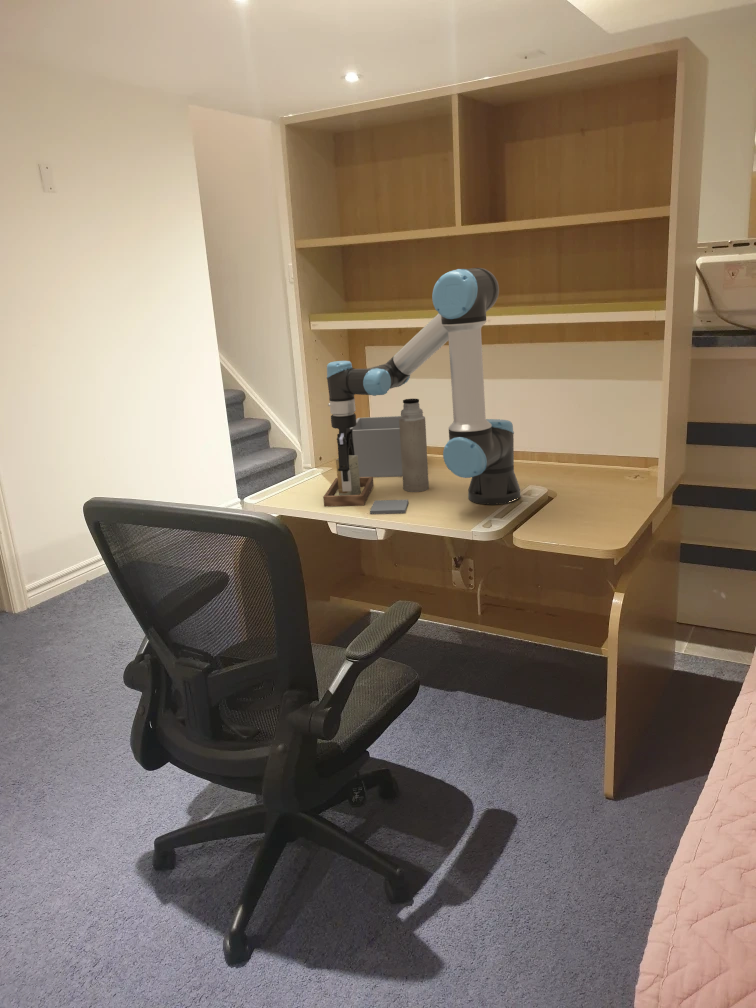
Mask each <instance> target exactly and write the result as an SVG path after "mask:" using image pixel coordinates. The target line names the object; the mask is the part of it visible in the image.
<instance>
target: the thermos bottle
mask: <svg viewBox="0 0 756 1008" xmlns="http://www.w3.org/2000/svg"><path fill="white" fill-rule="evenodd" d="M402 403H403V405H402V407H403V409H401V411H400V416H401V418H399V428H400V444H401V460H402V476H401V477H402V489H403V491H404V492H410V493H417V492H418V493H419V492H423V491H427V490H429V486H430V483H429V482H430V481H429V467H428V464H429V463H428V450H427V449H428V446H427V428H426V424H427V423H426V416H424V412H423V408H420V399H419V398H405V399H403V400H402Z"/></svg>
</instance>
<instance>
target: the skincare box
mask: <svg viewBox="0 0 756 1008" xmlns="http://www.w3.org/2000/svg"><path fill="white" fill-rule="evenodd" d="M335 467H336V475H337V477H336V478H338V488H339V489H338V496H340V495H361V493H362V491H361V490H362V489H361V487H360V478H359V467H358V456H356V455H349V470H350V475H351V487H352V491H343V490H342V479H341V471H338V469H339V457H338V458H336V459H335Z"/></svg>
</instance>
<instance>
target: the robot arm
mask: <svg viewBox="0 0 756 1008" xmlns="http://www.w3.org/2000/svg"><path fill="white" fill-rule="evenodd" d="M431 294H432V297H431V298H432V299H431V300H432V304H433V307H434V309H435V311H437V315H435V316H434V317H433V318H431V320H430V321H429V322H428V323H427V324H426V325H424V326H423V327H422V328H421V329H420V331H418V332H417V333H416V334H415V335H414V336H413V337H412V338H411V339H410V340H409V341H407V342H406V343H405V344H404V345H403V347H402V348H400V349H399V350H398V351H397V352H396V353H395V354H394V355H393V356H392V357H391V358H390V359H389V360H388V361H387V362H385V363H383V364H379V365H375V366H372V367H367V368H354V367H353V364H352V362H351V361H350V360H337V361H331V362H329V363H327V365H326V380H327V381H326V382H327V386H328V387H327V388H328V399H329V403H327V407H329V411H330V414H331V415H330V422H331V424H330V425H331V427H332V428H333V429H338V433H337V437H336V443H337V454H338V456H337V457H338V458H339V469H338V471H341V479H342V490H343V491H352V487H351V475H350V470H349V455H355V454H354V444H353V434H352V431H353V430H352V429H350V428H352V427H354V426H356V419H357V415H356V399H355V395H360V396H361V395H362V396H363V395H364V396H374V397H376V396H383V395H384V396H385V395H386V394H388V392H389V391H390V390H391V389H395V388H400V387H402V386H404V385H405V384H406V383H408V381H409V380H410V378H411V375H412V374H413V373H414V372H416V371H417V369H419V368H420V367H421V366H422V365H423V364H424V363H426V361H427V360H428V359H430V358H431V357H432V356H433V355H434V354H435V353H436V352H437V351H438V350H439V349H441V348H442V347H443V346H444V345H445V344H446V343H447V342H448V349H449V350H448V351H449V352H448V353H449V366H450V367H449V369H450V384H451V385H450V386H451V400H452V413H453V415H452V416H453V422H452V423H451V424H450V425H449V426H448V441H447V443H446V444H445V445H444V448H443V451H442V458H443V462H444V464H445V466H446V467H447V469H448V470H449V471H451V473H452V474H453V475H455V476H457V477H459V478H461V479H462V478H463V479H470V478H471V480H470V483H469V485H468V490H467V491H468V492H467V493H468V494H467V495H468V496H467V498H468V500H469V501H471V502H473V503H476V504H480V505H504V504H505V505H506V504H509V503H508V502H509V501H512V500H514V499H517V498H519V497H520V498H521V487H520V484H519V481H518V479H517V477H516V473H515V461H514V459H515V454H514V452H515V451H514V449H515V448H514V434H515V432H514V426H513V422H512V421H510V420H507V419H497V418H486V401H485V399H486V398H485V384H484V383H485V382H484V362H483V360H484V359H483V345H482V344H483V343H482V342H483V341H482V327H483V326H484V325H485V324H486V322H487V312H488V311H490V310H491V308H493V306H494V305H495V304H496V302H497V300H498V298H499V294H500V286H499V281H498V279H497V278H496V276H495V275H494V274H493V273H492V272H491V271H489V270H488V269H486V268H484V267H483V268H482V267H472V268H457V269H452V270H450V271H448V272H446V273H444V274H442V275H441V276H440V277H439V278H438V280H437V281H436V282H435V284H434V286H433V289H432V293H431ZM520 498H519V499H520Z"/></svg>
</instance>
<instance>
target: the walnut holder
mask: <svg viewBox="0 0 756 1008" xmlns="http://www.w3.org/2000/svg"><path fill="white" fill-rule="evenodd" d="M359 478H360V488H363V489H362V491H361V493H360V494H358V495H340V496H339V495H336V494H337V492H339V488H338V478H337V477H335V479H334V481H333V482H331V484H330V486H329V488H328V489H327V490H326V492H325V494H324V496H322V497H323V506H328V507H356V506H357V507H358V506H361V507H362V506H365V505H366V502H367V500H368V498H369V496H370V494H371V492H372V490H373V487H374V477H359Z"/></svg>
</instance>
